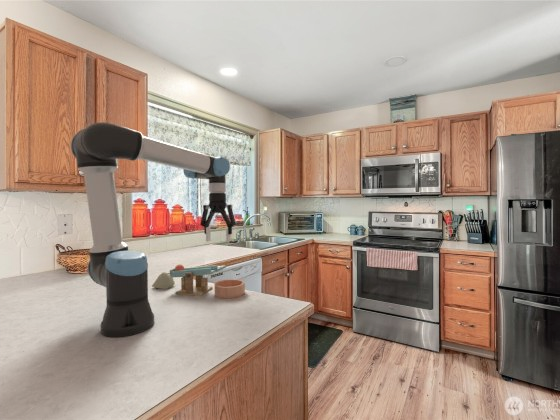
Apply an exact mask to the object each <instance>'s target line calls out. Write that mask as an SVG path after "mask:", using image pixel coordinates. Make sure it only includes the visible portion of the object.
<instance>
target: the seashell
mask: <svg viewBox="0 0 560 420" xmlns="http://www.w3.org/2000/svg"><path fill="white" fill-rule="evenodd" d="M174 279H175V278H171V277H170V273H169V274H168V273H167V272H161V273H160V274H159V276H157V278H156V280H155V281H154V283H152V285H151V287H152V288H156V289H163V290H164V289H170V288H172V287H173V286H175V280H174Z"/></svg>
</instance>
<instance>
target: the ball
mask: <svg viewBox="0 0 560 420" xmlns="http://www.w3.org/2000/svg"><path fill="white" fill-rule="evenodd" d="M174 268H175V271H183V270H184V268H185V266H184V265H183V264H179V263H178V264H177V265H175V267H174Z"/></svg>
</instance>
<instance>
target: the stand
mask: <svg viewBox="0 0 560 420" xmlns="http://www.w3.org/2000/svg"><path fill="white" fill-rule="evenodd" d="M208 278H209V277H208V276H207V277H204V275H198V276H195V285H194V276H193V273H191V272H186V273H185V277H180V283H181V284H180V287H181V289H178V290H177V291H175V295H185V296H188V295H189V296H197V297H199V296H200V297H201V296H202V295H204V294H206V293H208V292H209V291H211V290H213V289H212V288H213V287H214V286H209V285H208V284H209V282H208Z"/></svg>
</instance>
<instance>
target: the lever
mask: <svg viewBox="0 0 560 420" xmlns="http://www.w3.org/2000/svg"><path fill="white" fill-rule="evenodd" d="M226 265H227V264H226ZM226 265H225V264H224V265H217V264H216V265H206V266H205V265H204V266H195V267H184V270H183V271H175V267H174V268H171V269H169V275H170V277H171V278H173V279H175V278H182V277H185V273H186V272H191V273H193V277H196V276H198V275H203V276H208V275H209V276H210V275H213V274H214V273H217V272H220V271H222V270H223V269H227V266H226Z"/></svg>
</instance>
